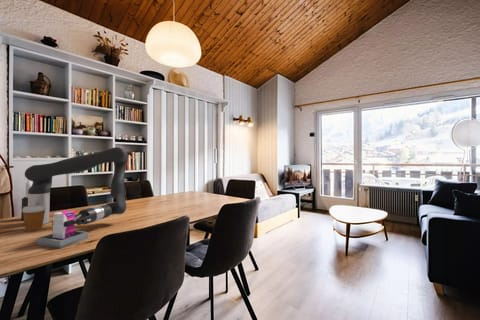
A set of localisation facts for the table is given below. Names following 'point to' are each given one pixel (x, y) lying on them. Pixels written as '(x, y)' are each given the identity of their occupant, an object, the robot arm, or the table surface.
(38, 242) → the tray
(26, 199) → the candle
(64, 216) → the supplement box
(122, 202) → the robot arm
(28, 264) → the table surface
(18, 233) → the table surface
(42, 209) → the disposable coffee cup
